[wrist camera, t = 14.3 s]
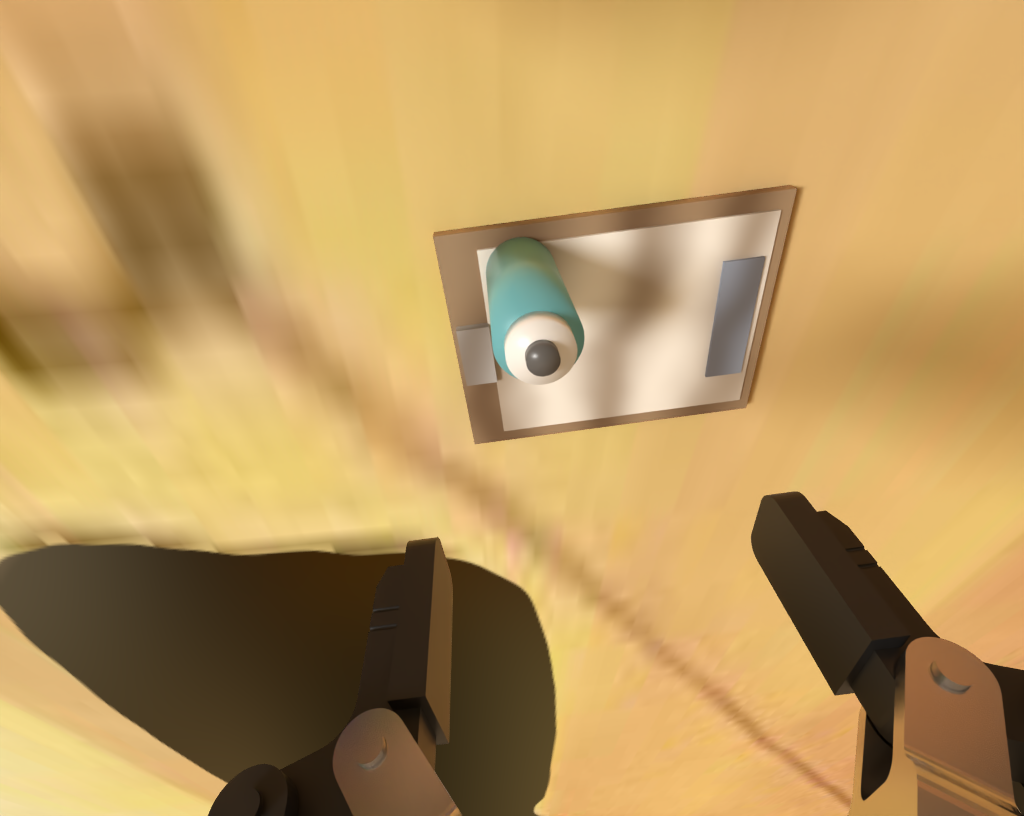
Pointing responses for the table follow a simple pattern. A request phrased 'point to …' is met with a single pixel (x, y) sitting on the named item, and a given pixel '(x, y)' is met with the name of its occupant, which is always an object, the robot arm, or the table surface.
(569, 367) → the bottle
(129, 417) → the table surface
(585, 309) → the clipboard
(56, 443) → the table surface
